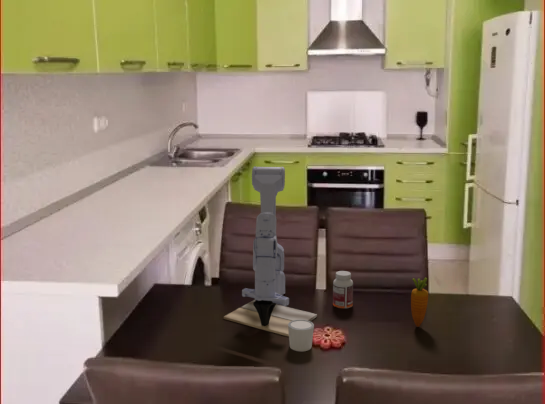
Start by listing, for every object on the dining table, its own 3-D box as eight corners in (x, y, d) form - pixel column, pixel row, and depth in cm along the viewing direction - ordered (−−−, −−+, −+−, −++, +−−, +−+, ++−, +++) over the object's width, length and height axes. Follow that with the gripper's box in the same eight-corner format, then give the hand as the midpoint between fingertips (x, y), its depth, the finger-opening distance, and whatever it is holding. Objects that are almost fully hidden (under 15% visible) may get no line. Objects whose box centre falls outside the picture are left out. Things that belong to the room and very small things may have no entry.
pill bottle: (348, 302, 194) (349, 269, 192) (355, 309, 188) (356, 275, 186) (329, 304, 193) (330, 270, 190) (336, 311, 187) (337, 277, 184)
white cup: (299, 341, 166) (300, 317, 164) (319, 349, 161) (319, 324, 160) (282, 348, 161) (282, 324, 160) (301, 357, 156) (301, 332, 155)
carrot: (405, 327, 175) (408, 277, 172) (414, 322, 179) (417, 273, 176) (421, 332, 172) (424, 281, 169) (429, 326, 176) (433, 277, 173)
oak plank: (239, 312, 185) (239, 307, 185) (302, 328, 174) (302, 323, 173) (223, 321, 179) (223, 316, 178) (288, 339, 167) (288, 334, 167)
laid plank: (255, 303, 192) (255, 299, 192) (316, 319, 181) (317, 314, 180) (240, 311, 186) (240, 307, 185) (303, 328, 174) (303, 323, 174)
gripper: (235, 278, 171) (235, 323, 173) (279, 287, 163) (279, 335, 166) (249, 271, 176) (250, 315, 179) (293, 280, 169) (292, 326, 172)
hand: (265, 324), depth 173 cm, fingers closed, pressing on oak plank
